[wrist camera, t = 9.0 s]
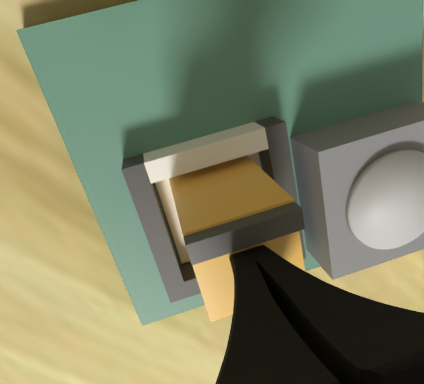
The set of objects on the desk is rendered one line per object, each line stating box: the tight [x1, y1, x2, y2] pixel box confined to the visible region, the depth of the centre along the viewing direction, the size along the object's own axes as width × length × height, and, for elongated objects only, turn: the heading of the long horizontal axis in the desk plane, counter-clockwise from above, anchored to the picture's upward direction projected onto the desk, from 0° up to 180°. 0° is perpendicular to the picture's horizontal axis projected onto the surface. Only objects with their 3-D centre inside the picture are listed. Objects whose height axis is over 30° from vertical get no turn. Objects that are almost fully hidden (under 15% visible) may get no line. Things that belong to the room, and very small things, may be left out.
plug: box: [169, 156, 305, 322], centre depth 15 cm, size 4×4×7 cm
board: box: [16, 0, 424, 326], centre depth 17 cm, size 18×16×4 cm
